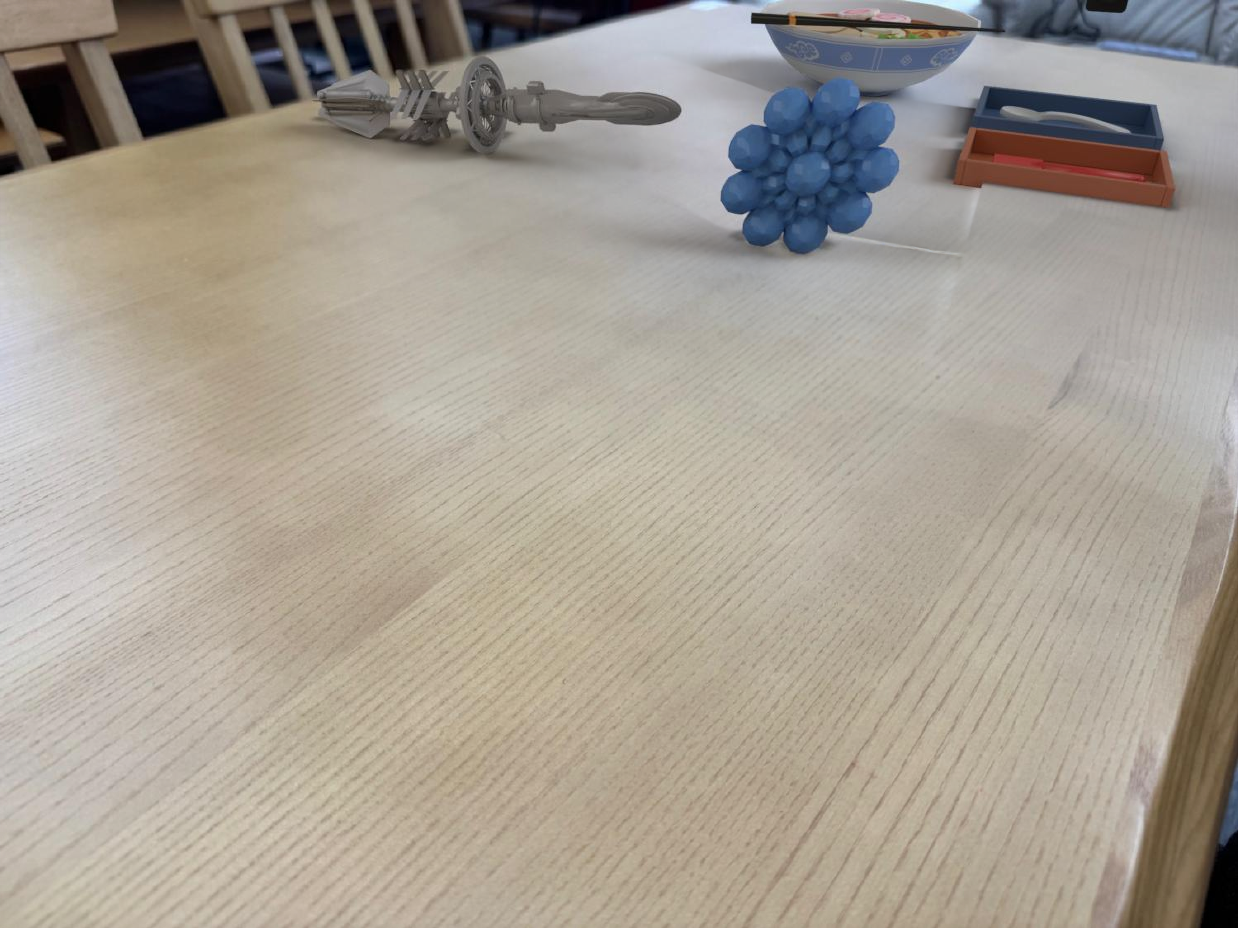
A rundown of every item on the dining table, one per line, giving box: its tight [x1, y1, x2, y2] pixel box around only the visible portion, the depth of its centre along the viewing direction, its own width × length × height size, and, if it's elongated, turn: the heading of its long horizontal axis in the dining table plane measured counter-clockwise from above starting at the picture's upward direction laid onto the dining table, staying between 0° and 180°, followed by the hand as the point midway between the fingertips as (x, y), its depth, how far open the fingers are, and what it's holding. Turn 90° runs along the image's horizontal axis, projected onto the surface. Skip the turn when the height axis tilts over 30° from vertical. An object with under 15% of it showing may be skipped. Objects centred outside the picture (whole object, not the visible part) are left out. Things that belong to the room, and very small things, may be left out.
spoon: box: [1000, 106, 1131, 133], centre depth 95 cm, size 3×12×2 cm, turn 66°
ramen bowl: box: [750, 0, 1006, 97], centre depth 106 cm, size 25×23×8 cm
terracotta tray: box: [952, 126, 1176, 208], centre depth 83 cm, size 16×10×2 cm, turn 69°
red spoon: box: [992, 154, 1147, 183], centre depth 83 cm, size 12×3×1 cm, turn 69°
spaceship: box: [311, 55, 682, 155], centre depth 85 cm, size 8×35×8 cm
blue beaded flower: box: [720, 78, 900, 255], centre depth 68 cm, size 12×7×12 cm, turn 80°
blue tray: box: [970, 85, 1165, 151], centre depth 95 cm, size 16×12×2 cm
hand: (1103, 2), depth 88 cm, fingers open, 9 cm apart
